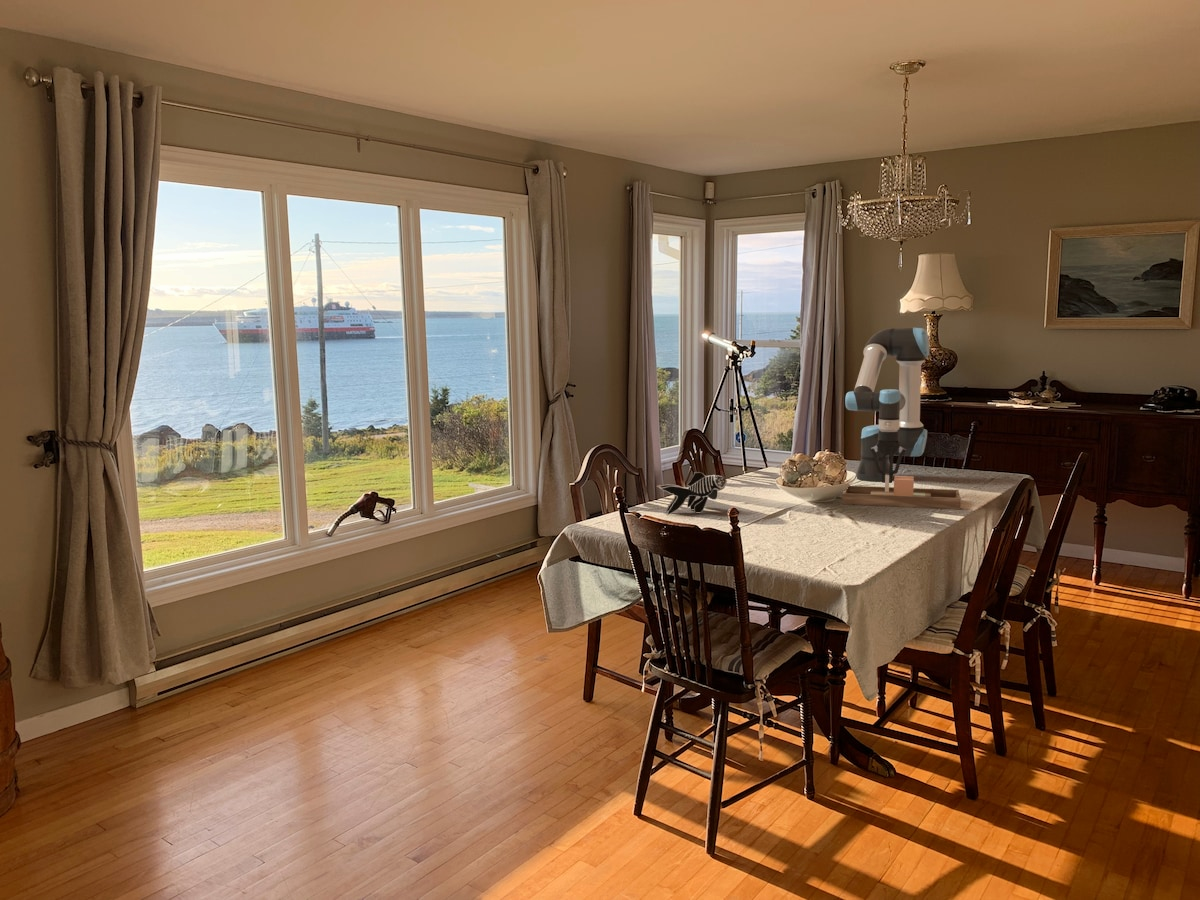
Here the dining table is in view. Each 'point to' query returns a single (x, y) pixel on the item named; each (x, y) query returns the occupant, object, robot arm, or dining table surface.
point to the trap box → (902, 497)
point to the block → (903, 485)
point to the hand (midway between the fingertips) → (886, 491)
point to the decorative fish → (694, 492)
